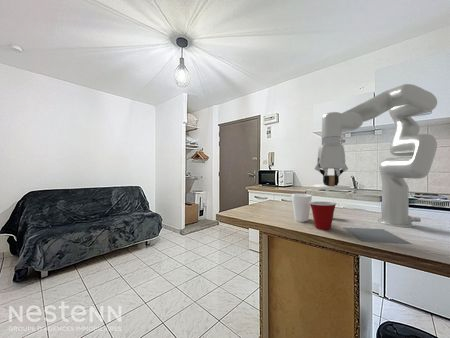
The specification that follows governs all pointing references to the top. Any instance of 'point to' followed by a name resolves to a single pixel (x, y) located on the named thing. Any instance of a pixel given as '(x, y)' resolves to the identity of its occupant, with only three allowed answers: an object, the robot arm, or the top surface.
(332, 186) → the lid
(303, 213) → the foam cup
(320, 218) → the plastic cup
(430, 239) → the top surface
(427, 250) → the top surface
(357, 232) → the mat
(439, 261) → the top surface
